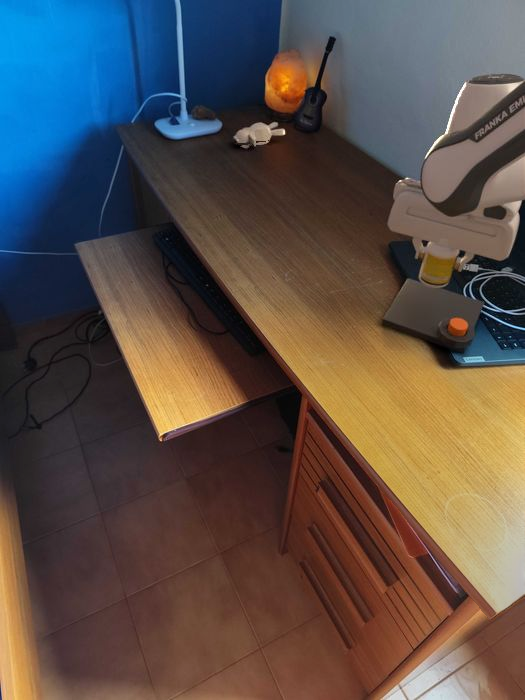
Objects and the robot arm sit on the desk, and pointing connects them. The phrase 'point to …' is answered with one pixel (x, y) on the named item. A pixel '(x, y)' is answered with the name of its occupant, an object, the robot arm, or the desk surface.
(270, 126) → the bunny figurine
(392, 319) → the scale
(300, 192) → the desk surface
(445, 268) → the supplement bottle
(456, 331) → the button
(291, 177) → the desk surface
